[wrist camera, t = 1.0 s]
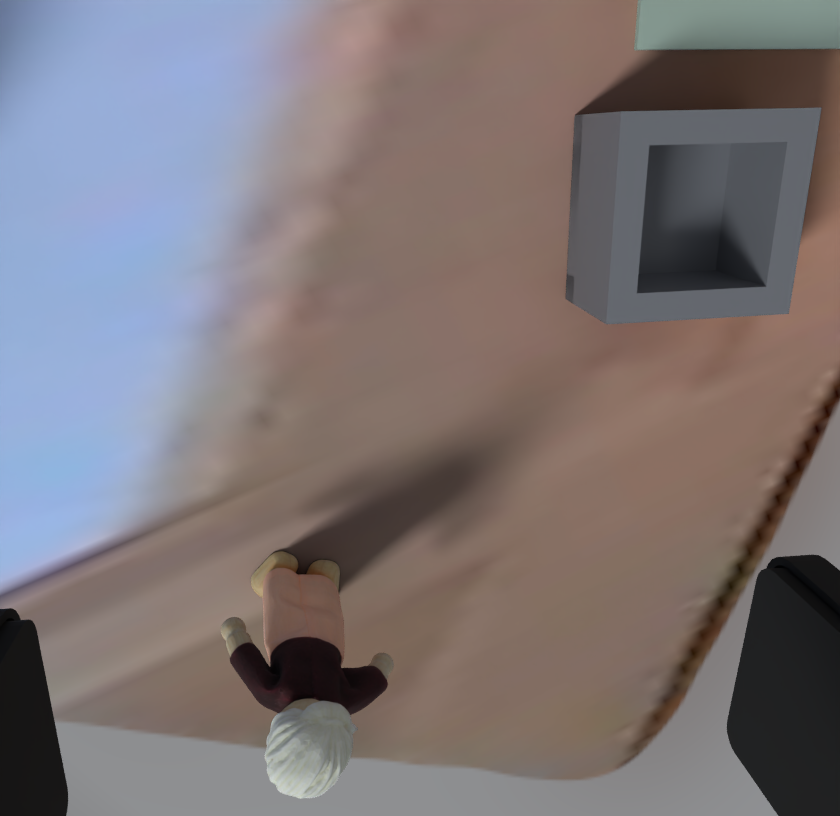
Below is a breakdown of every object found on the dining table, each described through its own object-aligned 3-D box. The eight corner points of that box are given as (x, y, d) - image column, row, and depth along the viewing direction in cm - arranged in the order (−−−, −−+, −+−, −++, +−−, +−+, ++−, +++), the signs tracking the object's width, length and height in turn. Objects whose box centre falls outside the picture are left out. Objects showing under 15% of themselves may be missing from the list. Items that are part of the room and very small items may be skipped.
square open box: (574, 115, 31) (621, 111, 27) (747, 111, 32) (821, 107, 28) (565, 298, 34) (606, 324, 30) (725, 290, 35) (788, 313, 31)
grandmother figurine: (228, 608, 37) (193, 825, 26) (234, 543, 36) (200, 739, 24) (377, 615, 39) (407, 823, 27) (387, 553, 38) (424, 742, 26)
